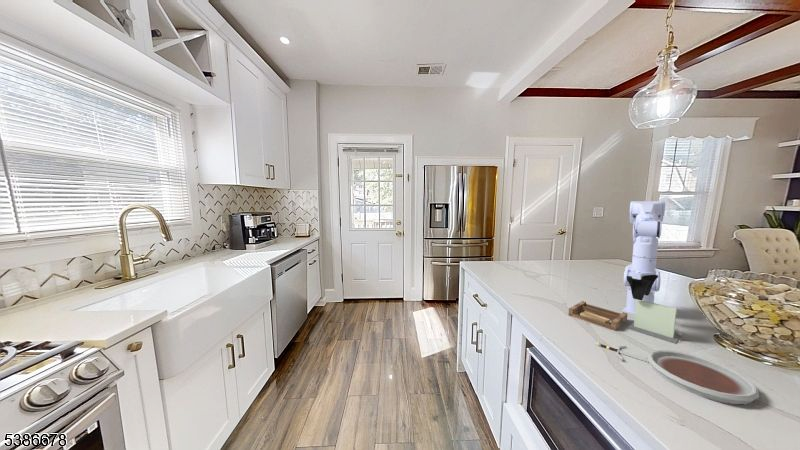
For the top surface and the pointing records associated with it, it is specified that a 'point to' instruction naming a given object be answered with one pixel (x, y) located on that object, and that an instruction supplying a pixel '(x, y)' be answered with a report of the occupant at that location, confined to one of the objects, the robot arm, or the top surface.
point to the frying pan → (698, 375)
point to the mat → (655, 334)
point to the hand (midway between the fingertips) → (640, 296)
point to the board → (655, 318)
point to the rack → (614, 317)
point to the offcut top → (595, 317)
